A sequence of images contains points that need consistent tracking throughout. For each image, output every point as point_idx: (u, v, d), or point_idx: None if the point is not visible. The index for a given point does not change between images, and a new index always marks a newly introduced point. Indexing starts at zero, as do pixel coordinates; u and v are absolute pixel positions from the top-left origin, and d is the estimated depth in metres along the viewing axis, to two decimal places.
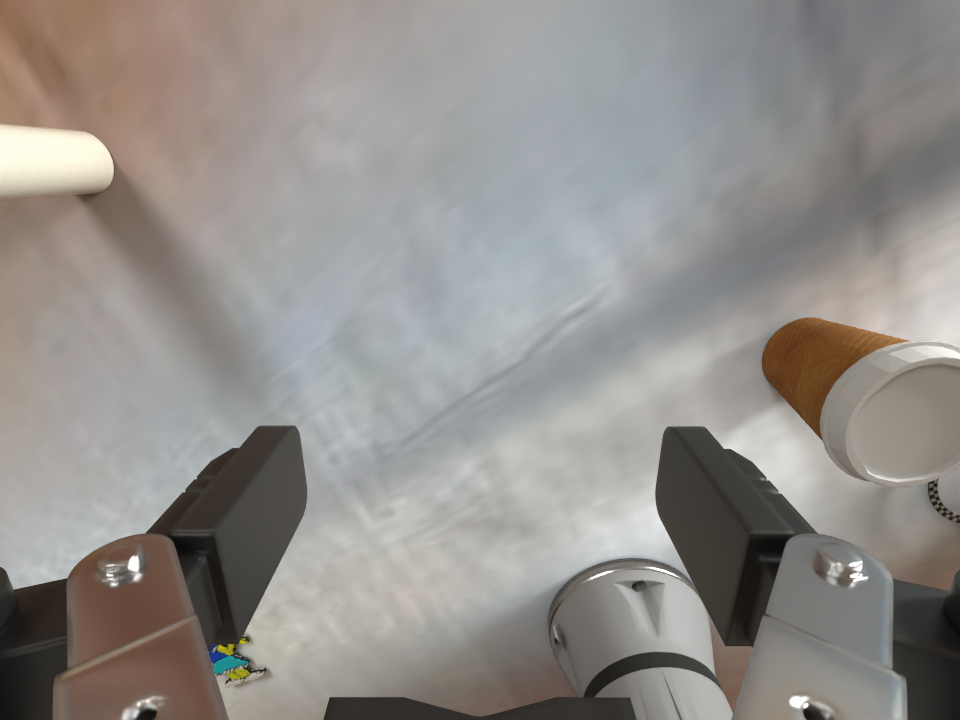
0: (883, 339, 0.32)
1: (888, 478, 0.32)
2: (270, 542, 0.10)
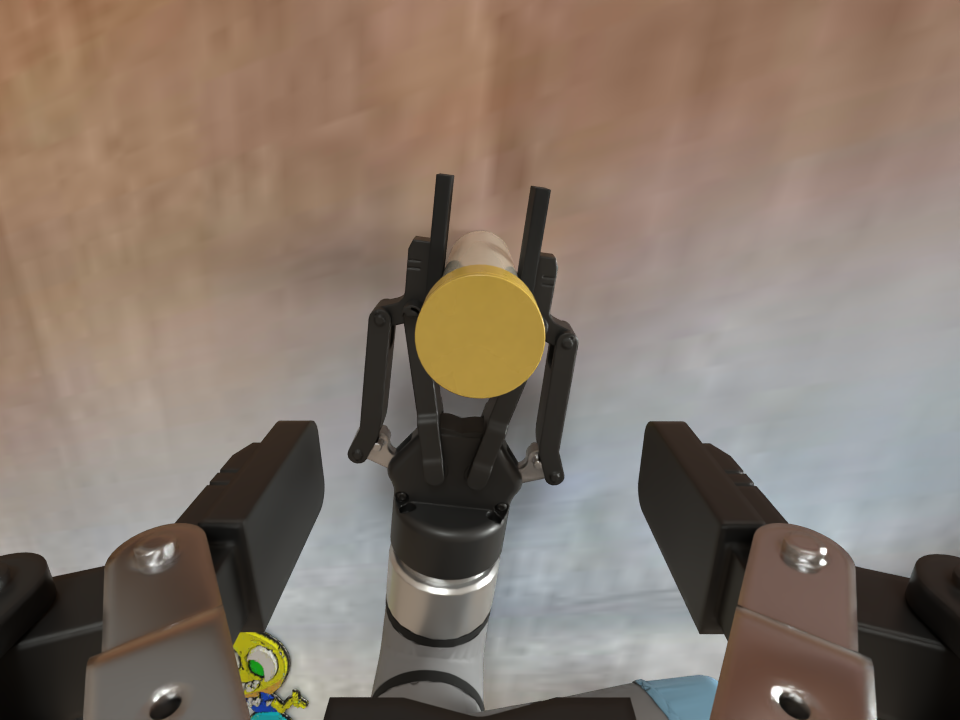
0: None
1: None
2: (292, 534, 0.10)
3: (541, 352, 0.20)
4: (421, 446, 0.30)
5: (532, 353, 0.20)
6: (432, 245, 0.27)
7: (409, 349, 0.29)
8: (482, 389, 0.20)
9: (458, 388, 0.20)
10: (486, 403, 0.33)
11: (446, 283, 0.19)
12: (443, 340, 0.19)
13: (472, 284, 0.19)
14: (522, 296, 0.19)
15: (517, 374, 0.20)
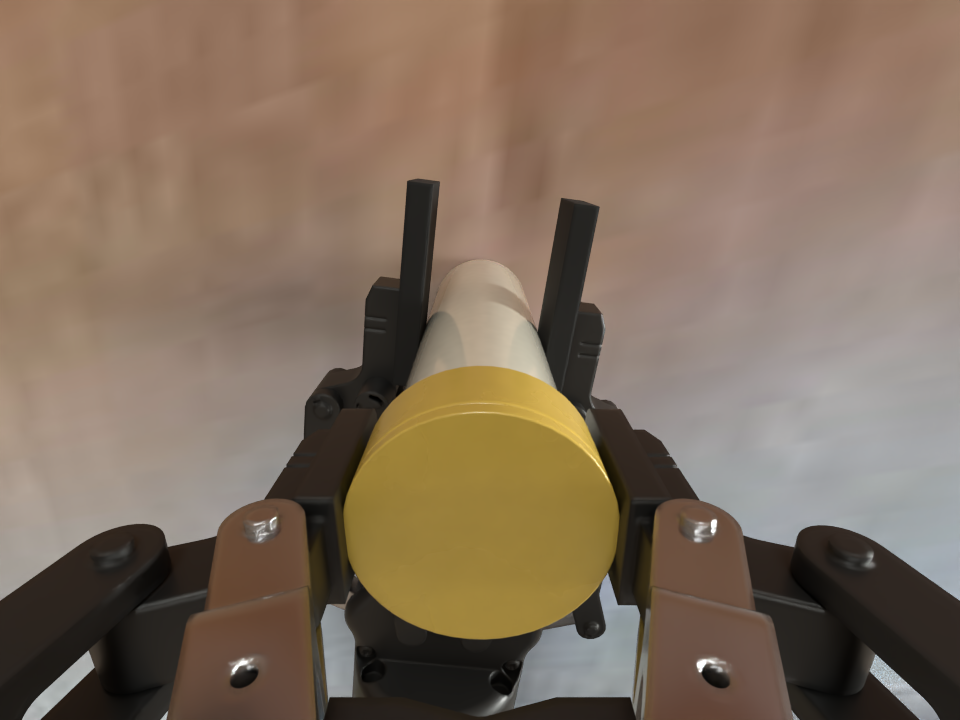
0: None
1: None
2: None
3: (610, 561, 0.09)
4: None
5: (591, 562, 0.09)
6: (403, 296, 0.16)
7: None
8: (486, 624, 0.10)
9: (436, 623, 0.10)
10: None
11: (406, 428, 0.08)
12: (402, 539, 0.09)
13: (464, 431, 0.08)
14: (574, 455, 0.09)
15: (558, 599, 0.10)
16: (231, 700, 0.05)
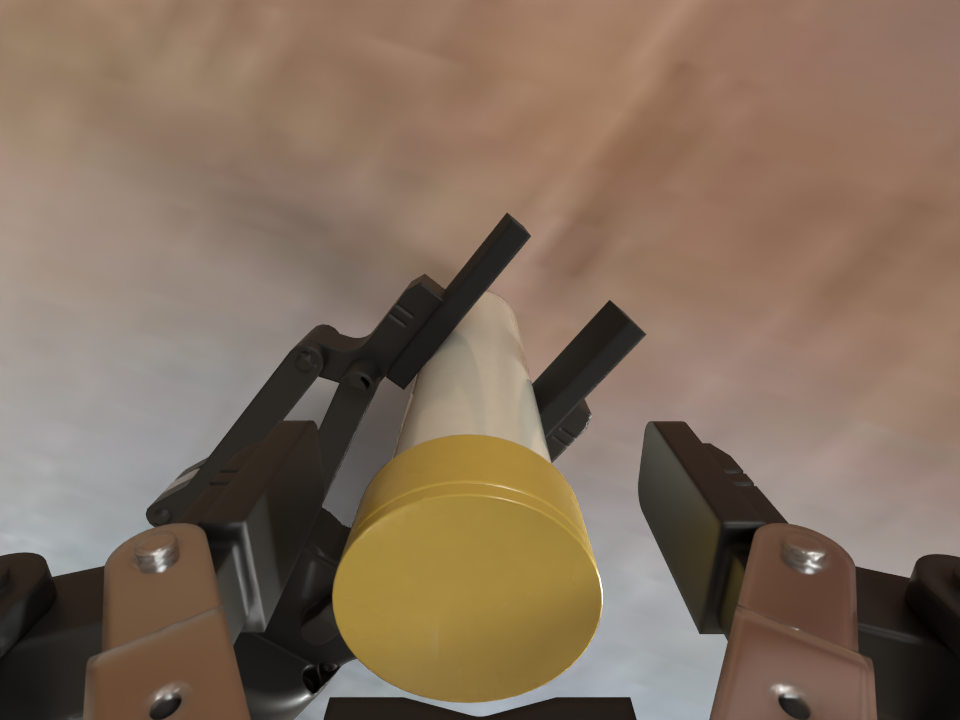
0: None
1: None
2: (292, 534, 0.10)
3: (564, 531, 0.09)
4: None
5: (555, 546, 0.09)
6: (444, 310, 0.16)
7: (324, 423, 0.18)
8: (564, 649, 0.10)
9: (534, 679, 0.10)
10: None
11: (334, 602, 0.09)
12: (432, 657, 0.10)
13: (357, 571, 0.09)
14: (430, 508, 0.09)
15: (577, 587, 0.09)
16: None
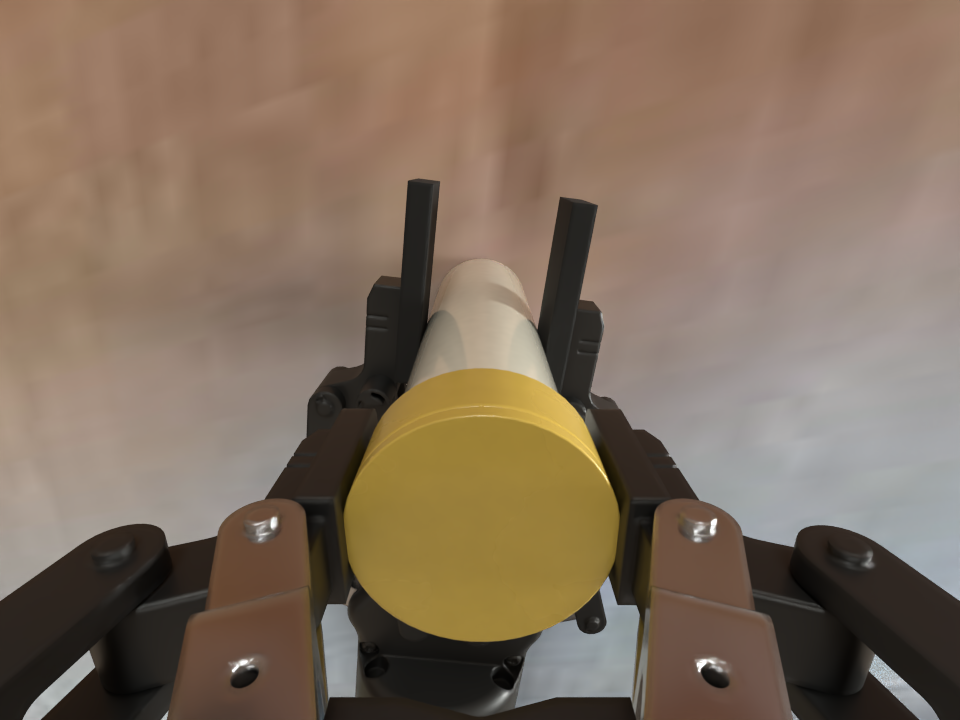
0: None
1: None
2: None
3: (512, 422, 0.08)
4: None
5: (514, 440, 0.08)
6: (404, 295, 0.16)
7: None
8: (599, 535, 0.09)
9: (592, 577, 0.09)
10: None
11: (368, 590, 0.10)
12: (484, 600, 0.10)
13: (364, 553, 0.09)
14: (381, 464, 0.09)
15: (566, 469, 0.09)
16: (231, 700, 0.05)
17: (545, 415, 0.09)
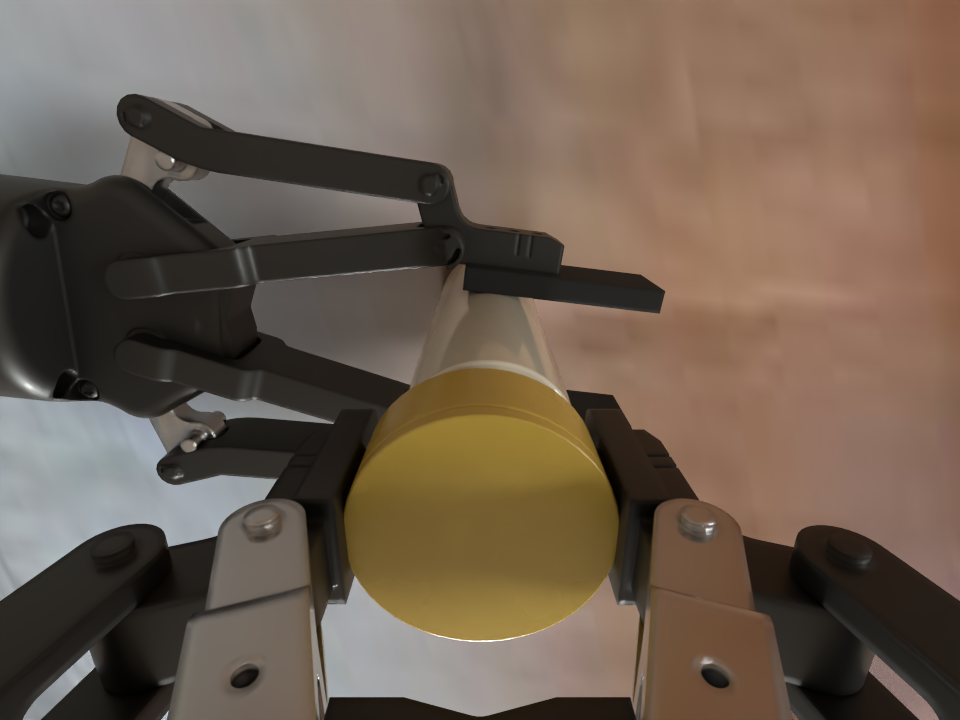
0: None
1: None
2: None
3: (511, 422, 0.08)
4: (186, 256, 0.16)
5: (514, 440, 0.08)
6: (558, 282, 0.17)
7: (378, 236, 0.16)
8: (598, 534, 0.09)
9: (591, 576, 0.09)
10: (281, 340, 0.20)
11: (368, 590, 0.10)
12: (484, 600, 0.10)
13: (363, 553, 0.09)
14: (381, 464, 0.09)
15: (565, 469, 0.09)
16: (232, 700, 0.05)
17: (544, 415, 0.09)
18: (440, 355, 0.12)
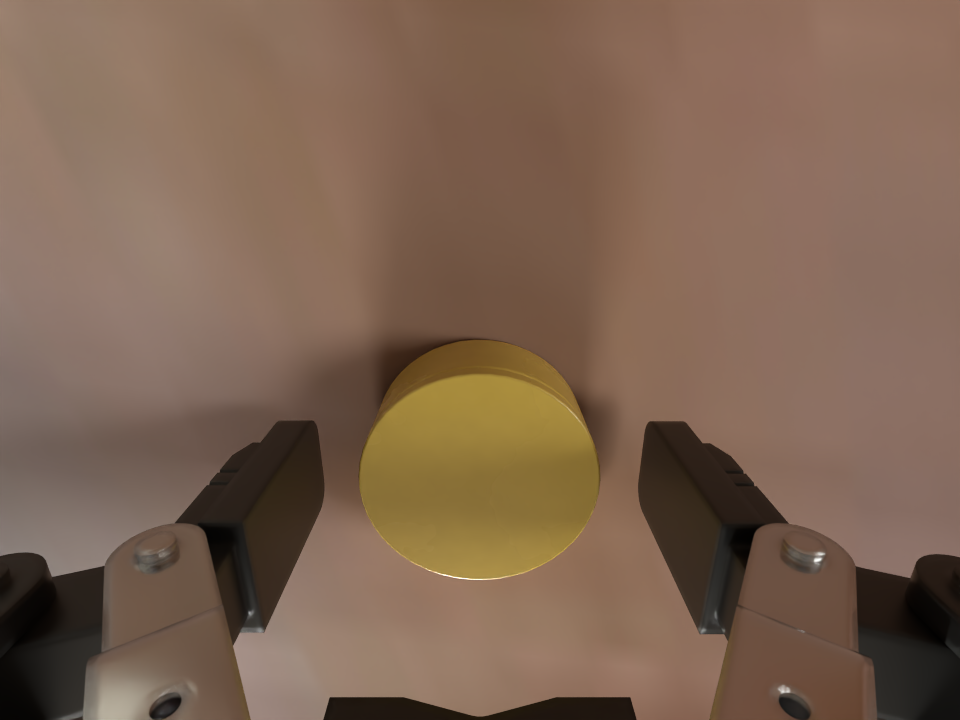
0: None
1: None
2: (292, 534, 0.10)
3: (505, 380, 0.10)
4: None
5: (507, 396, 0.10)
6: None
7: None
8: (580, 480, 0.10)
9: (576, 519, 0.11)
10: None
11: (381, 532, 0.11)
12: (482, 540, 0.11)
13: (377, 498, 0.11)
14: (393, 417, 0.10)
15: (552, 421, 0.10)
16: None
17: (534, 376, 0.10)
18: None
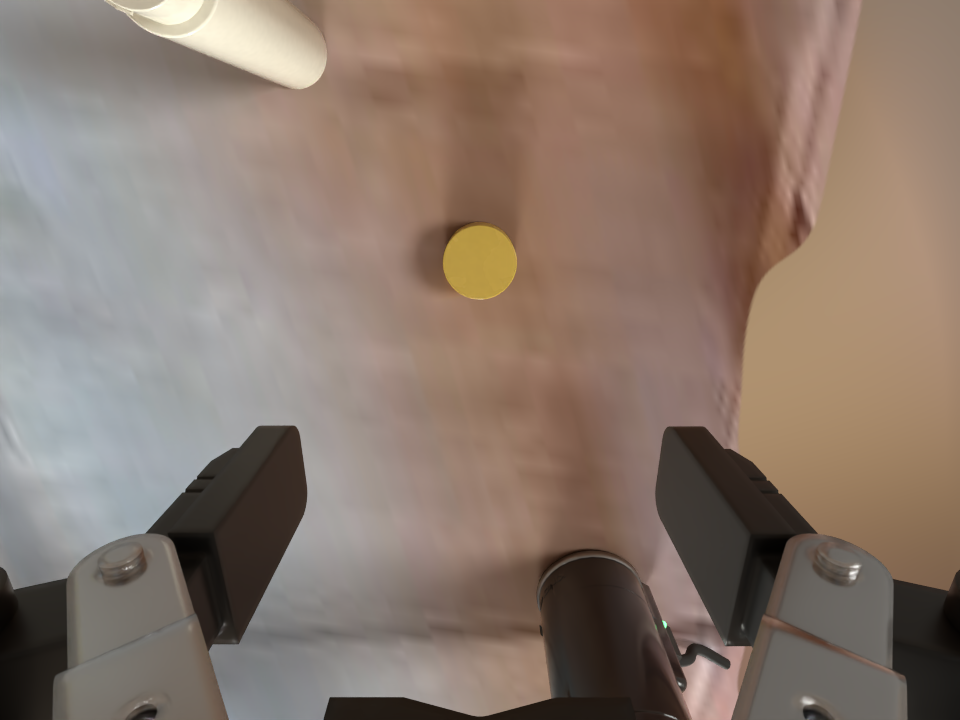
0: None
1: None
2: (270, 542, 0.10)
3: (487, 227, 0.33)
4: None
5: (488, 232, 0.34)
6: None
7: None
8: (510, 261, 0.34)
9: (509, 275, 0.35)
10: None
11: (448, 281, 0.35)
12: (480, 283, 0.35)
13: (448, 267, 0.34)
14: (454, 239, 0.34)
15: (501, 240, 0.34)
16: None
17: (496, 228, 0.34)
18: None
